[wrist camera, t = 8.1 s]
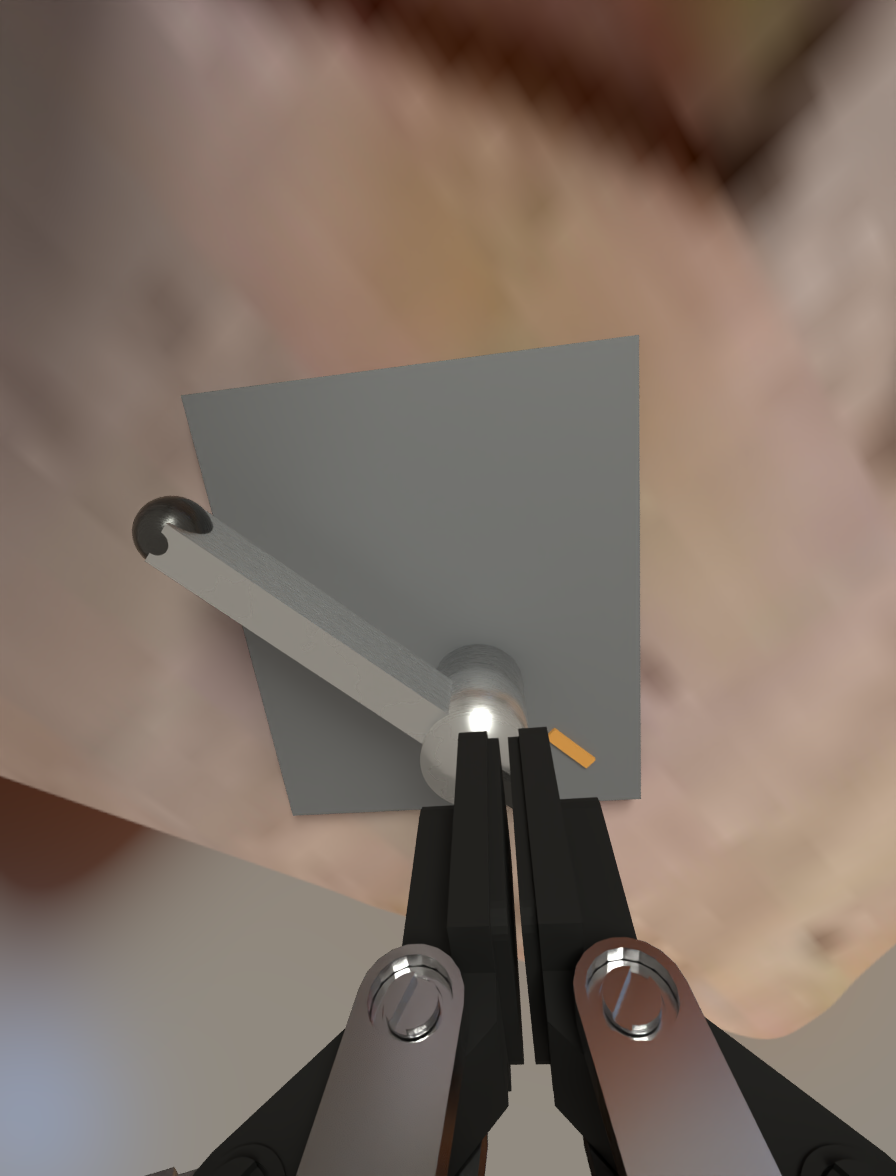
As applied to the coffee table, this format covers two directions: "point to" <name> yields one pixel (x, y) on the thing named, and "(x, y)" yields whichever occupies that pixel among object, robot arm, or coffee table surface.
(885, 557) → the coffee table surface
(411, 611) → the stand plate
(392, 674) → the bar with ball ends
